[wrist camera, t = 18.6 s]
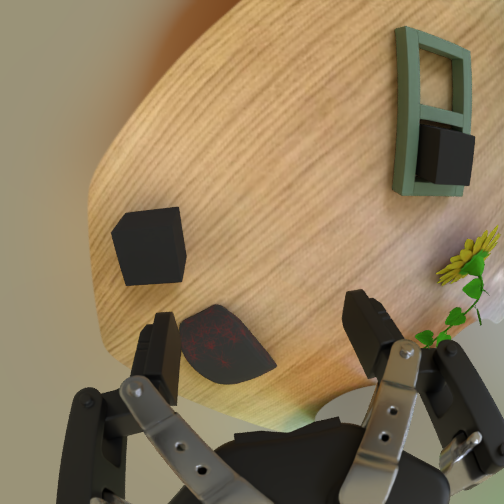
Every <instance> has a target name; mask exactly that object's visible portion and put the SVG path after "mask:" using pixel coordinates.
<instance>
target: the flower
mask: <svg viewBox="0 0 504 504" xmlns="http://www.w3.org/2000/svg"><path fill="white" fill-rule="evenodd" d="M497 229H498V225H497V226H496V227H495V228H494V230H493V231H492V232H491V233H490V234H489V236H488V237H487V235H488V231H487V230H486V231H485V232H484V233H483V235H482V237H478V238H477V240H476V242H475V244H474V241H473V240H471V239H467V240H466V242H465V246H464V247H465V249H463V250H461V251H460V255H457V256H454V257H451V259H450V261H451V263H452V264H449V265H447V266H446V268H444V269H443V270H441V271H439V272H437V273H436V274H443V273H447V274H445V275H444V276H442V277H440V278H439V279H441V280H440V281H439V282H437V283H440V282H443V281H444V282H443V283H442V284H443V285H445V284H446V283H448V282H450V281H451V280H452V279H454V278H455V277H456V278H455V279H454V280H453V281H452V282H451V283H450V284H452V283H453V282H457V281H458V280H459V279H460V278H464V277H465V276H467V275H468V274H469V275H474V276H478V278H479V279H478V278H475V279H473V280H472V281H471V282H469V283H468V284H467V285H466V286H465V287H463V291H464V292H465V293H466V294H467V295H468V296H469V297H471V298H474V299H477V300H476V301H475V302H474V304H473V305H472V306H471V307H470V308H469V309H468V310H467V311H466V312H465V313H461V308H459V307H456V308H454V309H453V310H452V311H450V314H449V316H448V317H447V319H446V321H445V324H446V325H450V326H449V327H448V328H447V329H446V330H445V331H443V332H441V333H440V334H439V336H438V337H436V338H435V339H434V340H432V339H433V338H432V336H433V332H431V331H429V330H425V331H423V332H421V333H418V334H417V335H416V336H415V338H416V339H418V340H419V341H420V342H421V343H423V344H425V345H427V346H425V347H424V348H426V347H428V348H429V346H431V345H432V344H433V342H434V341H435V340H436V339H437V345H438V344H439V342H440V341H442V340H446V339H449V340H451V336H450V335H446V334H447V330H448V329H449V328H451V327H452V326H453V325H460V324H462V323H465V320H466V317H465V316H464V315H465V314H466V313H467V312H468V311H469V310H471V308H472V307H473V306H474V305H475V304H476V303H477V302H478V300H479V298H480V296H481V294H482V291H485V290H484V289H483V286H484V284H483V280H482V276H481V275H482V273H483V270H484V265H485V264H484V261H485V259H486V258H487V257H488V256H489V255H490V254H491V253H489V252H490V251H491V250H492V249H493V248H494V247H495V246H496V244H497V243H498V242H496V241H497V240H498V238H499V237H500V235H501V234H500V235H499V233H498V234H497V236H496V237H495V238H494V239H493V240H492V238H493V236H494V235H495V233H496V231H497ZM498 235H499V236H498ZM491 240H492V241H491ZM490 241H491V243H490ZM495 242H496V243H495ZM489 243H490V244H489ZM494 243H495V244H494ZM488 244H489V245H488ZM487 246H488V247H487ZM488 253H489V254H488ZM448 272H449V273H448ZM445 280H446V281H445ZM442 284H441V285H442ZM443 285H442V286H443ZM485 292H486V291H485ZM486 293H487V292H486ZM487 294H488V293H487ZM488 295H489V294H488ZM475 306H476V305H475ZM476 310H477V314H478V318H479V322H480V325H482V324H481V318H480V314H479V311H478V309H476ZM445 332H446V334H445ZM437 345H436V347H437Z"/></svg>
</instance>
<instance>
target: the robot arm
mask: <svg viewBox="0 0 504 504" xmlns="http://www.w3.org/2000/svg"><path fill="white" fill-rule="evenodd" d="M342 323H343V327H344V330H345V332H346V334H347V336H348V338H349V340H350V342H351V344H352V346H353V348H354V350H355V352H356V354H357V357H358V359H359V361H360V363H361V365H362V367H363V369H364V372H365V374H366V376H367V378H368V379H370V378H374V377H376V378H377V380H378V383H377V385H376V388H375V391H374V394H373V397H372V399H371V402H370V405H369V408H368V410H367V413H366V415H365V418H364V420H363V422H362V425H361V426H359V425H356V424H351V423H341V422H340V419H339V417H334V418H330V419H326V420H321V421H316V422H313V423H311V424H308V425H306V426H304V427H301V428H299V429H297V430H294V431H292V432H288V433H284V432H269V431H255V432H245V433H235V434H234V439H235V440H233V441H230V442H227V443H225V444H223V445H221V446H220V447H218V448H217V449H215V450H214V451H213V450H212V449H211V448H210V447H209V446H208V445H207V444H206V443H205V442H204V441H203V440H202V439H201V438H200V437H199V435H198V434H197V433H196V432H195V431H194V430H193V429H192V428H191V427H190V426H189V425H188V424H187V422H185V420H184V419H183V418H182V417H181V416H180V415H179V414H178V413H177V412H174V410H173V409H172V408H171V407H170V406H177V396H178V382H179V369H180V357H181V338H180V334H179V331H178V327H177V324H176V321H175V317H174V314H173V312H160V313H156V314H155V318H154V323H153V324H147V325H146V326H145V327H144V329H143V330H142V331H141V332H140V336H139V340H138V344H137V348H136V349H137V350H136V353H135V357H134V361H133V366H132V370H131V375H130V377H129V378H127V379H126V380H125V381H123V383H122V384H121V386H120V388H119V389H117V390H114V391H110V392H106V393H102V394H101V393H100V392H99V391H98V390H97V389H95V388H91V387H88V388H84V389H82V390H80V391H79V392H77V394H76V395H75V396H74V399H73V402H72V407H71V412H70V415H69V420H68V425H67V430H66V435H65V440H64V446H63V452H62V458H61V465H60V473H59V480H58V489H57V500H56V504H131V503H129V502H128V501H126V500H125V471H126V449H127V436H128V435H132V434H136V433H140V432H144V433H145V435H146V437H147V438H148V439H149V441H150V442H151V443H152V445H153V446H154V447H155V449H156V450H157V451H158V452H159V454H160V455H161V457H162V458H163V459H164V460H165V462H166V463H167V464H168V465H169V466H170V468H171V469H172V470H173V471H174V473H175V474H176V475H177V476H178V477H179V478H180V480H181V481H182V482H183V483H184V484H185V485H184V486H183V487H182V488H181V489H180V491H179V492H178V493H177V494H176V495H175V496H174V497H173V499H172V500H171V501H170V502H169V503H168V504H449V501H450V497H451V496H453V495H454V494H456V493H458V492H460V491H462V490H469V489H472V488H473V487H475V486H477V485H478V484H480V483H482V482H483V481H485V480H486V479H488V478H489V477H491V476H493V475H494V474H496V473H497V472H498V471H500V470H501V469H503V468H504V419H503V417H502V415H501V413H500V412H499V409H498V408H497V406H496V404H495V402H494V400H493V398H492V397H491V395H490V393H489V392H488V389H487V388H486V386H485V384H484V383H483V381H482V379H481V377H480V376H479V374H478V372H477V371H476V369H475V368H474V366H473V364H472V363H471V361H470V360H469V358H468V356H467V355H466V353H465V352H464V350H463V349H462V348H461V346H460V345H459V344H458V343H457V342H455V341H453V340H449V339H446V340H442V341H440V342H439V344H438V345H437V347H436V348H420V347H419V346H418V345H417V344H416V343H415V342H413V341H411V340H407V339H405V338H404V337H403V335H402V334H401V332H400V331H399V329H398V328H397V326H396V325H395V323H394V322H393V320H392V319H391V318H390V316H389V314H388V313H387V312H386V310H385V308H384V307H383V305H382V304H381V303H380V302H378V301H377V300H376V299H374V298H368V296H367V295H366V293H365V292H364V290H363V289H359V290H353V291H347V292H346V295H345V301H344V307H343V313H342ZM417 393H419V394H420V396H421V398H422V401H423V403H424V405H425V407H426V410H427V412H428V414H429V416H430V419H431V421H432V423H433V425H434V428H435V430H436V433H437V435H438V438H439V440H440V443H441V445H442V448H443V450H442V451H441V453H440V463H439V467H440V470H439V469H437V468H435V467H433V466H432V465H430V464H428V463H426V462H424V461H422V460H420V459H418V458H416V457H415V456H413V455H411V454H409V453H407V452H406V451H404V450H403V448H404V444H405V441H406V437H407V434H408V430H409V426H410V423H411V419H412V415H413V411H414V407H415V402H416V398H417Z"/></svg>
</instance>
